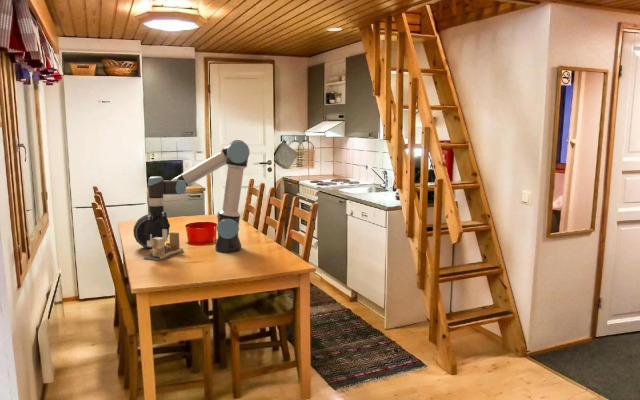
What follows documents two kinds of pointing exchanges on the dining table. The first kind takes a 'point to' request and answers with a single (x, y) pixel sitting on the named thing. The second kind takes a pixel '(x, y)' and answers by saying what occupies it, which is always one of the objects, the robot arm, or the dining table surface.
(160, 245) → the block
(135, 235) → the dark studded bowl
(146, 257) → the grey board with posts
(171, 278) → the dining table surface
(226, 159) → the robot arm
